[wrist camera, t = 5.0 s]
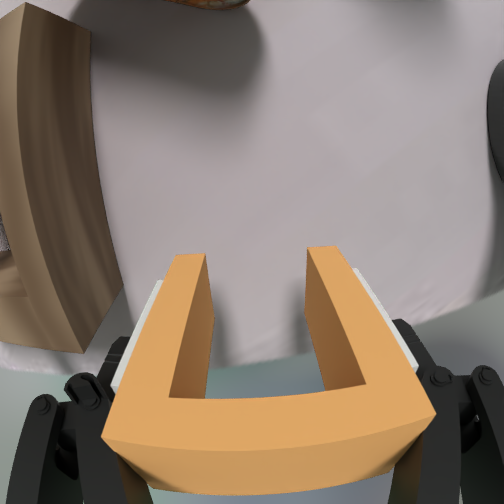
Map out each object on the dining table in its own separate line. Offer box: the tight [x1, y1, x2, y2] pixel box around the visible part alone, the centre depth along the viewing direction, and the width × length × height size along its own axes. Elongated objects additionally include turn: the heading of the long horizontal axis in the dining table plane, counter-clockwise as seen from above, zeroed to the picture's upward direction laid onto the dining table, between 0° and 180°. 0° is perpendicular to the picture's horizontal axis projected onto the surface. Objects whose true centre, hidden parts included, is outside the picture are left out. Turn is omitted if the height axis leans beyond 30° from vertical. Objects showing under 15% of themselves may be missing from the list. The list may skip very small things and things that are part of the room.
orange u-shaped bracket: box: [101, 246, 436, 495], centre depth 10 cm, size 8×4×10 cm, turn 93°
